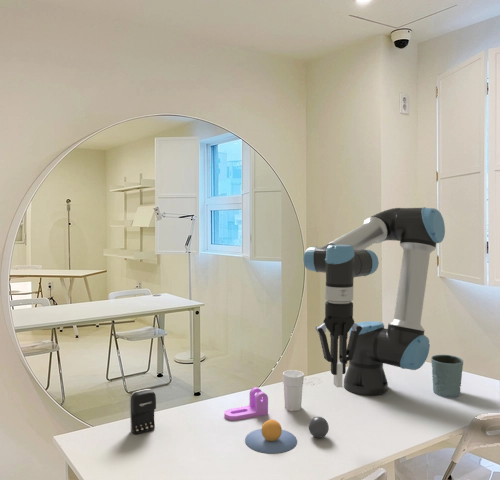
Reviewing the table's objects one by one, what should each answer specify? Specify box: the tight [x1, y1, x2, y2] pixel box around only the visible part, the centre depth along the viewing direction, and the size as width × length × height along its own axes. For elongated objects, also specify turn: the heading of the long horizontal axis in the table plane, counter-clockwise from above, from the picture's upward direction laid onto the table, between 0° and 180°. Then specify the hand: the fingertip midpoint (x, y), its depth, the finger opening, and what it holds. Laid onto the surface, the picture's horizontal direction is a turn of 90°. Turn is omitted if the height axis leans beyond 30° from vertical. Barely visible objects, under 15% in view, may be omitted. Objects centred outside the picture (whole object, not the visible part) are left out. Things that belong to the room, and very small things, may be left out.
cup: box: [282, 369, 305, 412], centre depth 152 cm, size 7×7×11 cm
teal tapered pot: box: [430, 354, 464, 399], centre depth 164 cm, size 10×10×12 cm
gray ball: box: [308, 416, 330, 439], centre depth 132 cm, size 6×6×6 cm
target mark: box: [244, 428, 298, 454], centre depth 130 cm, size 14×14×1 cm
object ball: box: [260, 419, 283, 441], centre depth 130 cm, size 6×6×6 cm
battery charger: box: [129, 388, 157, 435], centre depth 135 cm, size 7×4×11 cm, turn 124°
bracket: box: [223, 386, 269, 421], centre depth 147 cm, size 13×6×7 cm, turn 114°
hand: (337, 385), depth 133 cm, fingers closed
